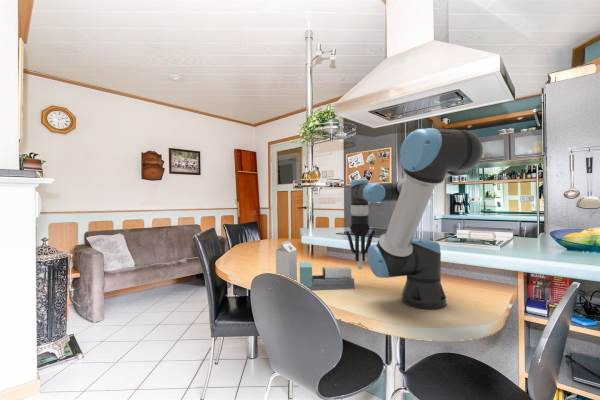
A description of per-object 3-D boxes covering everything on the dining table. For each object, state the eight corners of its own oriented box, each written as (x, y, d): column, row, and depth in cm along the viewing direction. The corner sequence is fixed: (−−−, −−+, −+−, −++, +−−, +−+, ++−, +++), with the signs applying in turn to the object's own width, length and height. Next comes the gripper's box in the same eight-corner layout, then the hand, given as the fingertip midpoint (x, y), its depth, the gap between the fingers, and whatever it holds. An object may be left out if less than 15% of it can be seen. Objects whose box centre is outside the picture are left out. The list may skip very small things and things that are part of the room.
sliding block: (351, 283, 128) (351, 269, 128) (323, 284, 128) (323, 269, 128) (349, 280, 133) (349, 266, 133) (322, 281, 132) (322, 267, 132)
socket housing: (312, 286, 126) (312, 267, 125) (300, 286, 125) (300, 267, 125) (311, 280, 135) (310, 262, 134) (299, 280, 134) (299, 262, 134)
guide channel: (354, 288, 126) (354, 279, 126) (300, 290, 126) (300, 280, 125) (350, 282, 135) (350, 273, 135) (300, 283, 135) (299, 275, 134)
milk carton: (276, 283, 135) (275, 242, 135) (284, 279, 142) (283, 239, 141) (289, 285, 132) (288, 243, 132) (297, 281, 138) (296, 240, 138)
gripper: (372, 213, 134) (372, 265, 135) (343, 214, 134) (343, 266, 134) (376, 215, 126) (377, 270, 127) (346, 215, 126) (346, 271, 127)
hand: (360, 268), depth 131 cm, fingers closed
